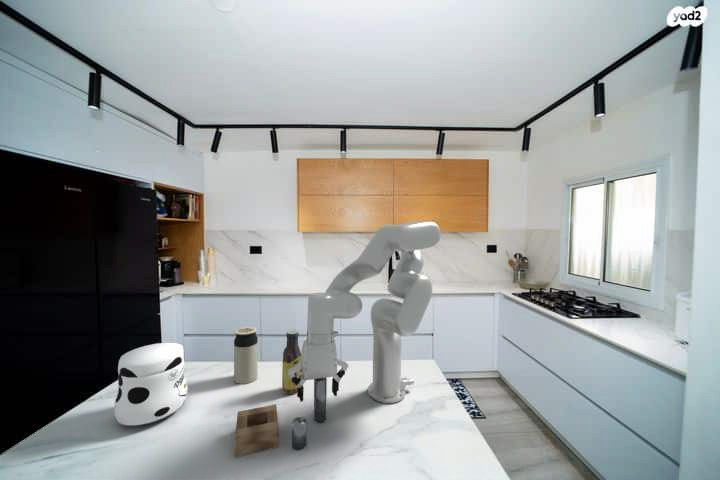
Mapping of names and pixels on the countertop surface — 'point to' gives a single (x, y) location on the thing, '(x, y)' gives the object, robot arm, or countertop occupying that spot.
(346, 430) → the countertop surface
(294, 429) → the short pin
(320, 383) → the long pin
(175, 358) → the milk container
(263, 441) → the hole block
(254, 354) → the travel mug
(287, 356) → the sauce bottle
